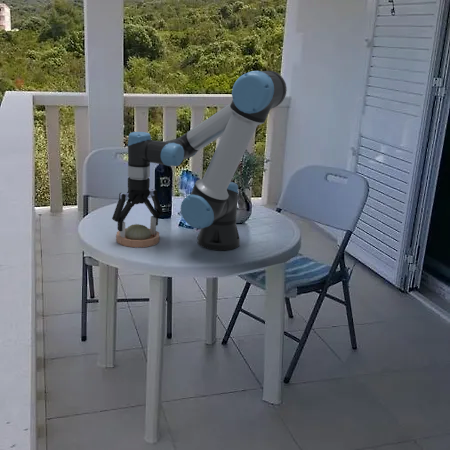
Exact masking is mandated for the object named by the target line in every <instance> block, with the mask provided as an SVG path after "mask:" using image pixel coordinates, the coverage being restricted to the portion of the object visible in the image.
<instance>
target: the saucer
mask: <svg viewBox="0 0 450 450" xmlns="http://www.w3.org/2000/svg"><path fill="white" fill-rule="evenodd" d="M127 228H128V227H127ZM127 228H126V227H125V231H126V229H127ZM147 228H148V229H149V230H150V227H147ZM115 235H116V236H115V237H116V242H117V243H118V245H121V246H123V247H127V248H135V247H136V248H135V249H137V247H138V248H139V247H141V248H149V246H150V247H154V246H155V245H158V243H159V242H160V232H159V231H157V230H156V235H152V234H151V237H150V238H149V239H146V240H130V239H127V238H126V237H125V238H123V237H121V236H120V231H118V230H117V231H116V234H115Z"/></svg>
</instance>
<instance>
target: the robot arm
mask: <svg viewBox="0 0 450 450" xmlns="http://www.w3.org/2000/svg"><path fill="white" fill-rule="evenodd" d="M286 95H287V83H286V81H285V79H284V77H282V75H280V74H279V73H278V72H276V71H273V70H262V71H260V70H252V71H248V72H246V73H244V74H242V75H240V76H239V77H238V78H237V79H236V81H235V82H234V83H233V86H232V89H231V97H232V101H231V102H230V103H229V104H227V105H226V106H224V107H223V108H221V109H220V110H218V111H216V113H214V114H213V115H210V116H209V117H208V118H206V119H204V121H202V122H201V123H199V124H198V125H196V126H194V127H193V128H192V129H190V130H188V131H187V132H186V133H184V134H183V135H181V136H179V137H178V138H175V139H169V140H167V141H161V140H160V141H159V140H154V139H152V137H151V134H150V133H149V132H146V131H132V132H130V133H129V134H128V139H127V141H128V142H127V156H128V157H127V159H128V160H127V176H128V178H127V192H124V193H122V192H119V194H118V202H117V204H116V206H115V209H114V212H113V215H112V217H111V219H112V220H113V221H114V222H116V223H117V232H118V231H120V236H121V237H123V238H125V228H126V222H125V220H126V218H127V216H128V214H129V213H130V211H131V209H132V208H134V206H135V205H140V204H144V205H145V206H146V209H148V211H149V212H150V213H151V215H152V216H151V215H150V225H149V229H150V231H151V234H152V235H156V231H157V226H158V225H159V218H161V217H160V216H163V215H164V211H163V208H162V206H161V202H160V200H159V197H158V190H156V189H154V188H152V189H151V190H150V186H151V184H150V182H151V180H150V177H151V164H157V165H162V166H167V167H178V166H180V165H181V163H182V162H183V161H184V160H185V159H190V158H192V157H194V156H195V155H197V153H198V152H199V151H201V150H202V149H204V148H205V147H207V146H208V145H210V144H211V143H213V142H215V141H216V140H218V139H219V142H218V144H217V147H216V148H215V151H214V153H213V155H212V157H211V160H210V161H209V164H208V166H207V167H206V168H207V169H206V171H205V172H204V175H203V177H202V178H200V179H198V180H197V179H196V181H195V184H194V185H193V188H192V190H191V192H190V194H188V195H187V196H186V197H184V198H183V200H182V201H181V204H180V213H181V215H182V218H183V219H184V220H183V221H185V222H186V224H187V225H189V226H190V227H192V228H193V229H194V228H195V229H200V230H199V233H198V234H197V235H198V236H197V244H198V246H200V247H202V248H204V249H208V250H212V251H213V250H214V251H231V250H234V249H237V248H238V247H239V246H240V244H241V243H240V242H241V238H240V235H239V230H238V227H237V215H238V203H239V201H238V200H239V194H240V193H239V185H238V184H237V183H236V182H233V181H232V179H233V178H234V175H235V174H236V171H237V169H238V167H239V165H240V162H241V161H242V158H243V156H244V154H245V152H246V150H247V148H248V146H249V143H250V142H251V140H252V138H253V135H254V133H255V132H256V129H257V127H258V126H260V125H262V124H264V123H265V122H266V120H267V118H268V116H269V114H270V111H271V110H272V109H274V108H277V107H279V106H280V105H281V104H282V103H283V102H284V100H285V98H286ZM150 196H151V199H152V202H153V205H152V203H151V201H150V200H149V197H150ZM125 202H126V204H125Z"/></svg>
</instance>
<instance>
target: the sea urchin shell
mask: <svg viewBox="0 0 450 450" xmlns="http://www.w3.org/2000/svg"><path fill="white" fill-rule="evenodd" d="M148 228H149V227H147V226H146V225H143V224H139V223H138V224H137V223H135V224H131V225H129V226H128V227H127V229H126V231H125V237H126V238H127V239H130V240H146V239H149V238H150V237H151V231H150V230H149V229H150V228H149V229H148Z"/></svg>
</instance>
